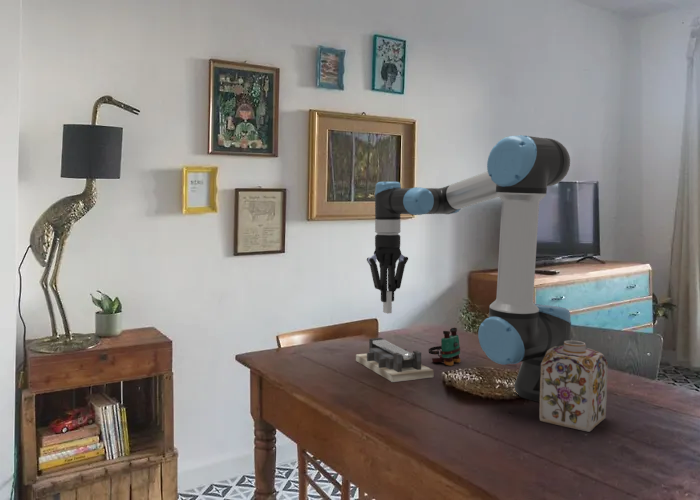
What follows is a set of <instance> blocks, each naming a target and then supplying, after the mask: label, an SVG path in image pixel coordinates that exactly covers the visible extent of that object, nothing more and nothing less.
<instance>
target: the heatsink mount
mask: <svg viewBox="0 0 700 500" xmlns="http://www.w3.org/2000/svg"><path fill="white" fill-rule="evenodd" d="M374 340H384V338H382V337H375V338H373V337H372V338H369V339H368V341H369V345H368V347H369V350H368V352H366V353H357V354H355V362H358V363H359V364H360V365H362V366H364V367H366V368H367V369H369V370H370V371H372V372H374V373H376V374H377V375H378V376H381V377H383V379H386V380H388V381H389V382H391V383H397V382H405V381H412V380H415V381H416V380H421V379H422V380H423V379H429V378H434V374H435V373H434V372H435V370H434V369H432V368H430V367H428V366H425V365H423V364H422V352H421V351H419V350H413V351H412V353H414V354H415V359H411V360H402V355H401V354H399V353H394V355H393V354H392V353H390V352H388V351H386V350H384V349H382V348H381V347H379V346H377V345H375V344H373V341H374ZM403 349H404V350H406V351H408V350H407V349H406V348H403Z"/></svg>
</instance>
